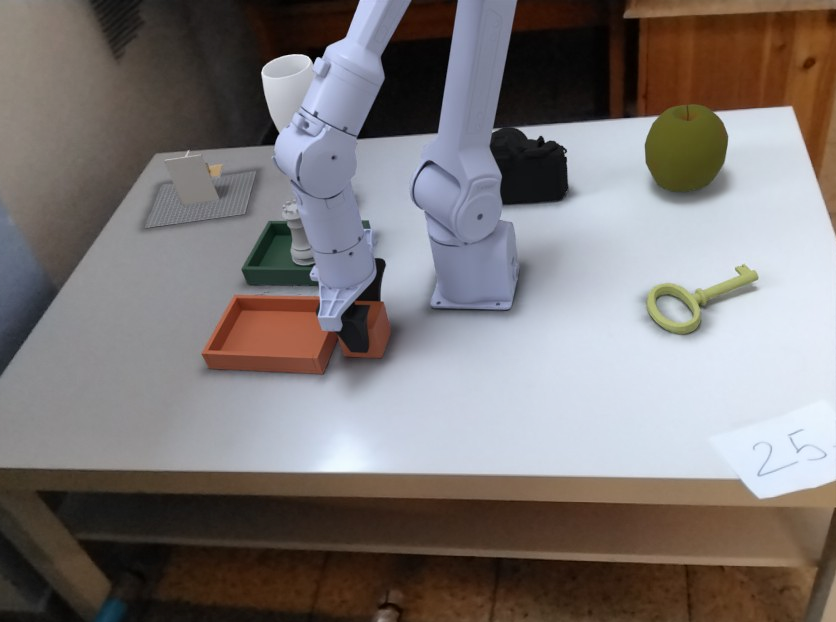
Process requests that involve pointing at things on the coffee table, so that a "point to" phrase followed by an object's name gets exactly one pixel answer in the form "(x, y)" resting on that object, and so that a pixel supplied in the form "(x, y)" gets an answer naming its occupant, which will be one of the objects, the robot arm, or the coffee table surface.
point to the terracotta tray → (270, 336)
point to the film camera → (529, 167)
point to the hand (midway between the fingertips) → (365, 334)
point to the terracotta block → (373, 331)
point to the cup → (286, 86)
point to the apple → (686, 148)
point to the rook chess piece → (298, 236)
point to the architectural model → (199, 193)
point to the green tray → (277, 258)
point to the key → (695, 299)
